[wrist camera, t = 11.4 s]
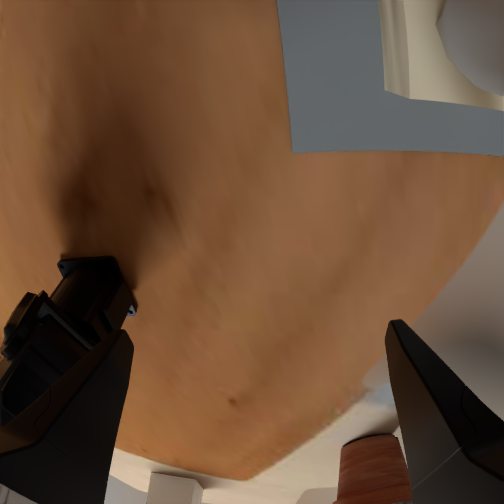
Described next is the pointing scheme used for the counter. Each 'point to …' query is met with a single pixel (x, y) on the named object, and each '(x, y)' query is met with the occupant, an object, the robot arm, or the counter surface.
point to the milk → (173, 490)
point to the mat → (365, 89)
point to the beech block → (424, 57)
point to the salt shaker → (475, 40)
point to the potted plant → (373, 472)
